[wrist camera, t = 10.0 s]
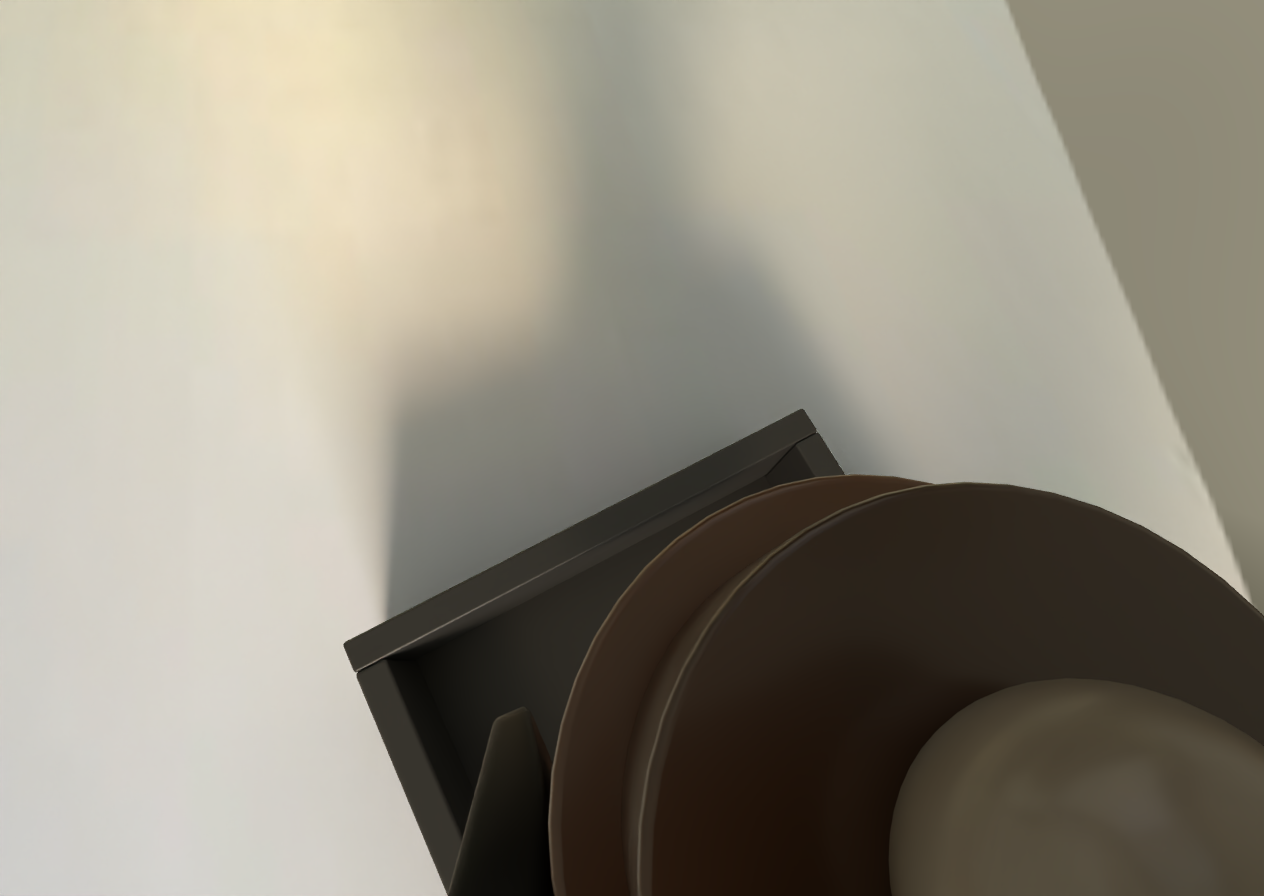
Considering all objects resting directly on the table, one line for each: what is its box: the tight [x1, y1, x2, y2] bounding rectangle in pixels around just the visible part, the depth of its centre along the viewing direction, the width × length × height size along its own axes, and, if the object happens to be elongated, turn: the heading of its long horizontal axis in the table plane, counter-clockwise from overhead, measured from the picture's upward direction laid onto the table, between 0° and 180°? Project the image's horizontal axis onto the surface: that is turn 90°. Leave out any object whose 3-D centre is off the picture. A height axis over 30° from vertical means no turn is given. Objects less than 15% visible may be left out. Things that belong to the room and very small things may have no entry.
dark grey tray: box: [344, 409, 845, 895], centre depth 19 cm, size 16×14×4 cm
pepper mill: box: [548, 474, 1264, 896], centre depth 9 cm, size 5×5×14 cm
